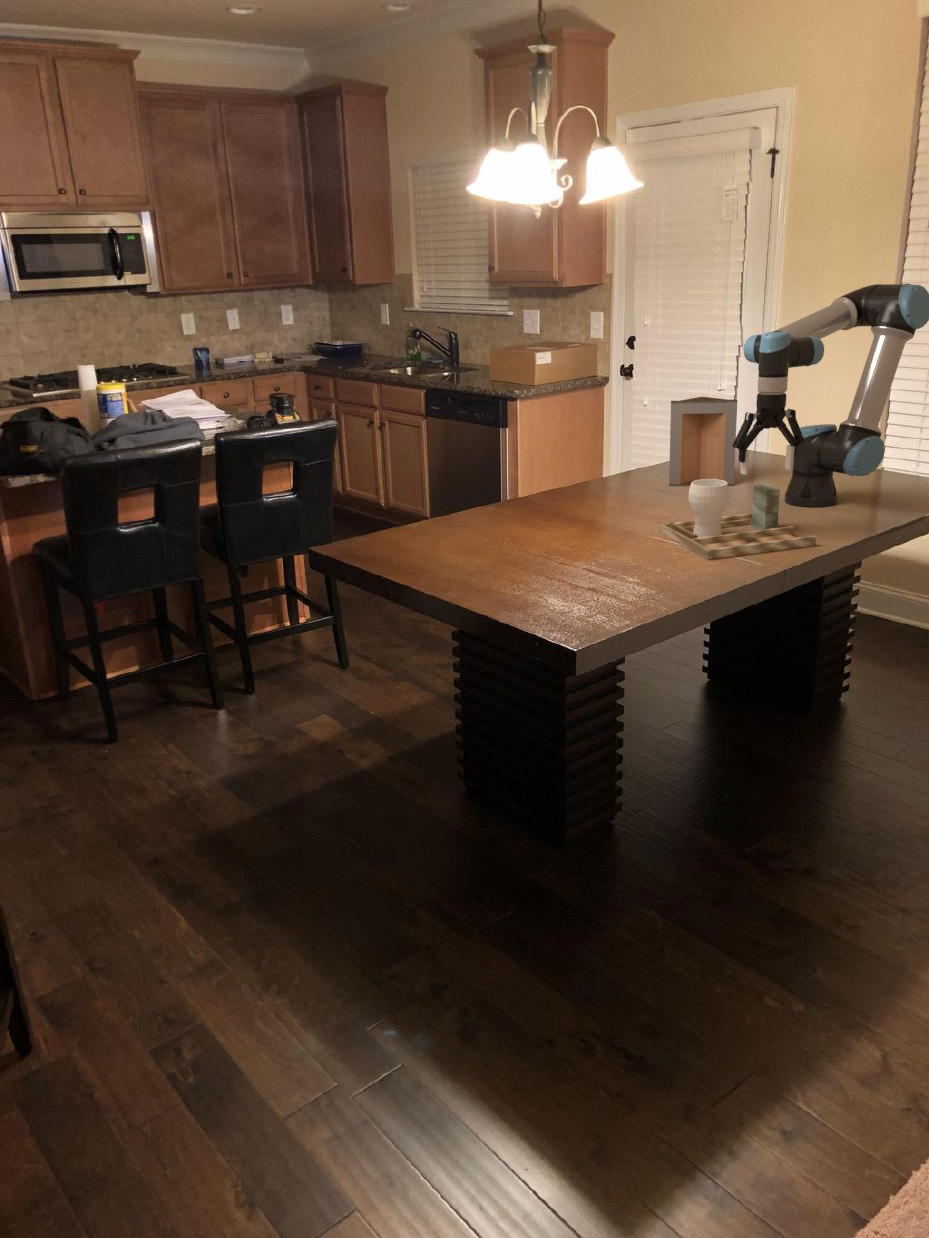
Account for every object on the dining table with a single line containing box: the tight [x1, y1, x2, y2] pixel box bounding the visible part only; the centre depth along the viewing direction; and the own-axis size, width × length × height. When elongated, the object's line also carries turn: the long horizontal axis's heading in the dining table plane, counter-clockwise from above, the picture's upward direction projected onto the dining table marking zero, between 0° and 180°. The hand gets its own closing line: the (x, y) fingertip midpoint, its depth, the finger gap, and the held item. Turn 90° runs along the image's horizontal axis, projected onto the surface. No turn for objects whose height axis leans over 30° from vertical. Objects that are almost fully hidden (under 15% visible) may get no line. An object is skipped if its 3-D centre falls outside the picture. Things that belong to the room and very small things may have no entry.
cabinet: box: [668, 396, 738, 487], centre depth 324 cm, size 21×10×28 cm, turn 77°
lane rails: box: [659, 512, 817, 561], centre depth 264 cm, size 31×28×2 cm
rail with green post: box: [668, 483, 781, 539], centre depth 267 cm, size 27×15×12 cm, turn 104°
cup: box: [688, 479, 730, 538], centre depth 266 cm, size 11×11×15 cm
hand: (766, 472), depth 266 cm, fingers open, 13 cm apart
